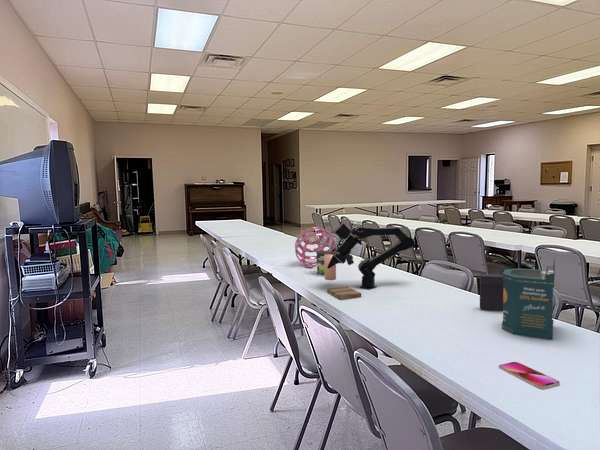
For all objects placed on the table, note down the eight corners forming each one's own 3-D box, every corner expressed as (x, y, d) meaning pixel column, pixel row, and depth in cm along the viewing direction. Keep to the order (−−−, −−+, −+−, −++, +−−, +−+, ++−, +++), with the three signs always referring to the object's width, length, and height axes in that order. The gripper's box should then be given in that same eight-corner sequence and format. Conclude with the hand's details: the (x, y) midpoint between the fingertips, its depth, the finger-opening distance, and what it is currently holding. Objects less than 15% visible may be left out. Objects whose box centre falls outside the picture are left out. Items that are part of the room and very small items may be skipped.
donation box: (552, 340, 141) (554, 259, 138) (500, 332, 149) (501, 256, 147) (553, 325, 154) (555, 251, 152) (505, 319, 163) (506, 249, 160)
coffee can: (330, 276, 247) (330, 253, 245) (314, 275, 250) (313, 253, 249) (335, 273, 256) (335, 250, 255) (320, 272, 260) (319, 250, 258)
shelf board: (327, 292, 212) (327, 288, 212) (346, 289, 216) (346, 286, 215) (340, 300, 197) (340, 296, 197) (361, 297, 201) (361, 293, 201)
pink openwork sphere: (336, 241, 257) (327, 214, 277) (293, 253, 258) (287, 225, 279) (343, 270, 275) (335, 243, 296) (303, 281, 276) (297, 253, 297)
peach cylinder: (330, 277, 222) (330, 253, 221) (338, 279, 217) (338, 254, 216) (322, 278, 218) (321, 254, 217) (330, 280, 214) (329, 256, 212)
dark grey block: (507, 309, 175) (508, 274, 173) (509, 312, 171) (509, 277, 169) (479, 307, 179) (479, 273, 177) (480, 310, 175) (480, 275, 173)
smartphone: (515, 361, 125) (562, 382, 111) (515, 364, 125) (561, 385, 111) (496, 365, 123) (541, 387, 108) (496, 368, 123) (541, 391, 108)
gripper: (361, 258, 208) (340, 281, 209) (356, 252, 226) (336, 273, 227) (346, 243, 207) (324, 266, 208) (341, 239, 225) (321, 259, 226)
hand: (327, 266), depth 217 cm, fingers closed on peach cylinder, 6 cm apart
